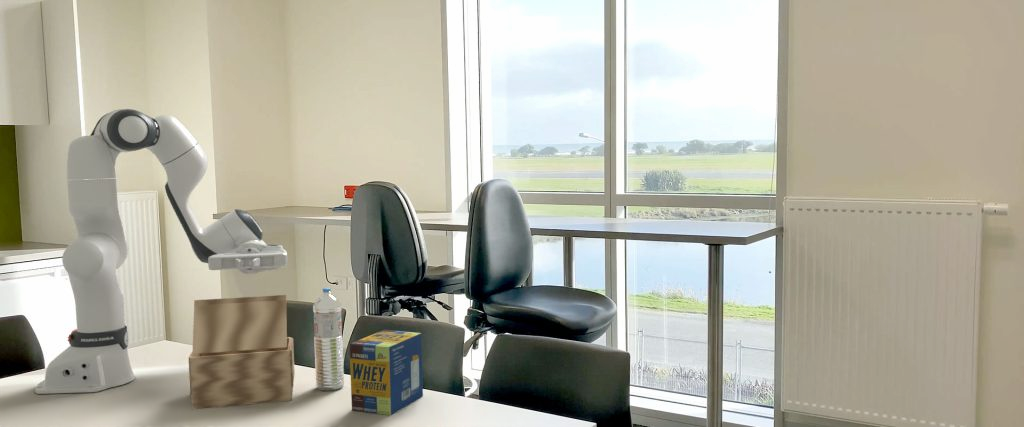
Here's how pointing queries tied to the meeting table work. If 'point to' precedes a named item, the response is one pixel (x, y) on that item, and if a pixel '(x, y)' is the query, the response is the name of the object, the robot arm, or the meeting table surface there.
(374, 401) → the protein box
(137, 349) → the meeting table surface
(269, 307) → the carton flap
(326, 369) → the water bottle
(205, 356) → the carton
